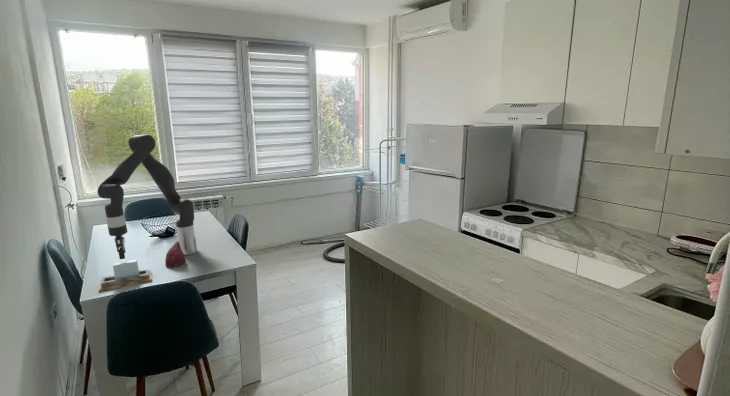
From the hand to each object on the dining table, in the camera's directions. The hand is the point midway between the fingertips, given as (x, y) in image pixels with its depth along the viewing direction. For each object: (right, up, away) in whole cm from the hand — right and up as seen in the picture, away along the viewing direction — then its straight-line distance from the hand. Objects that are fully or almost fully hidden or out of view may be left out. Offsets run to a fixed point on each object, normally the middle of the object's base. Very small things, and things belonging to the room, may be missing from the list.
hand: (122, 255), depth 183 cm
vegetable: (+14, -9, +25) cm, 29 cm away
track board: (0, -13, +3) cm, 14 cm away
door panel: (0, -12, +3) cm, 13 cm away
